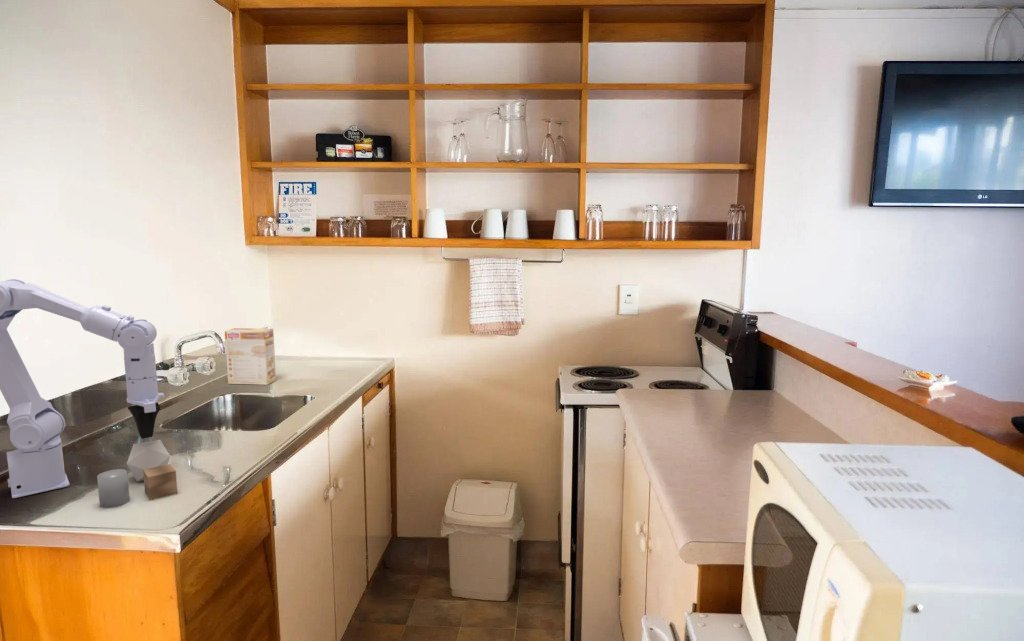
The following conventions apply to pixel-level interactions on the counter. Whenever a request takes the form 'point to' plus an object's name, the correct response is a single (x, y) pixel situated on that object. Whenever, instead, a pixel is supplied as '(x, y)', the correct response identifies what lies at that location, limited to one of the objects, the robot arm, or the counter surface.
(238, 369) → the coffeecake box
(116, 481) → the grey cylinder
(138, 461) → the pale grey faceted polyhedron
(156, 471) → the walnut block
